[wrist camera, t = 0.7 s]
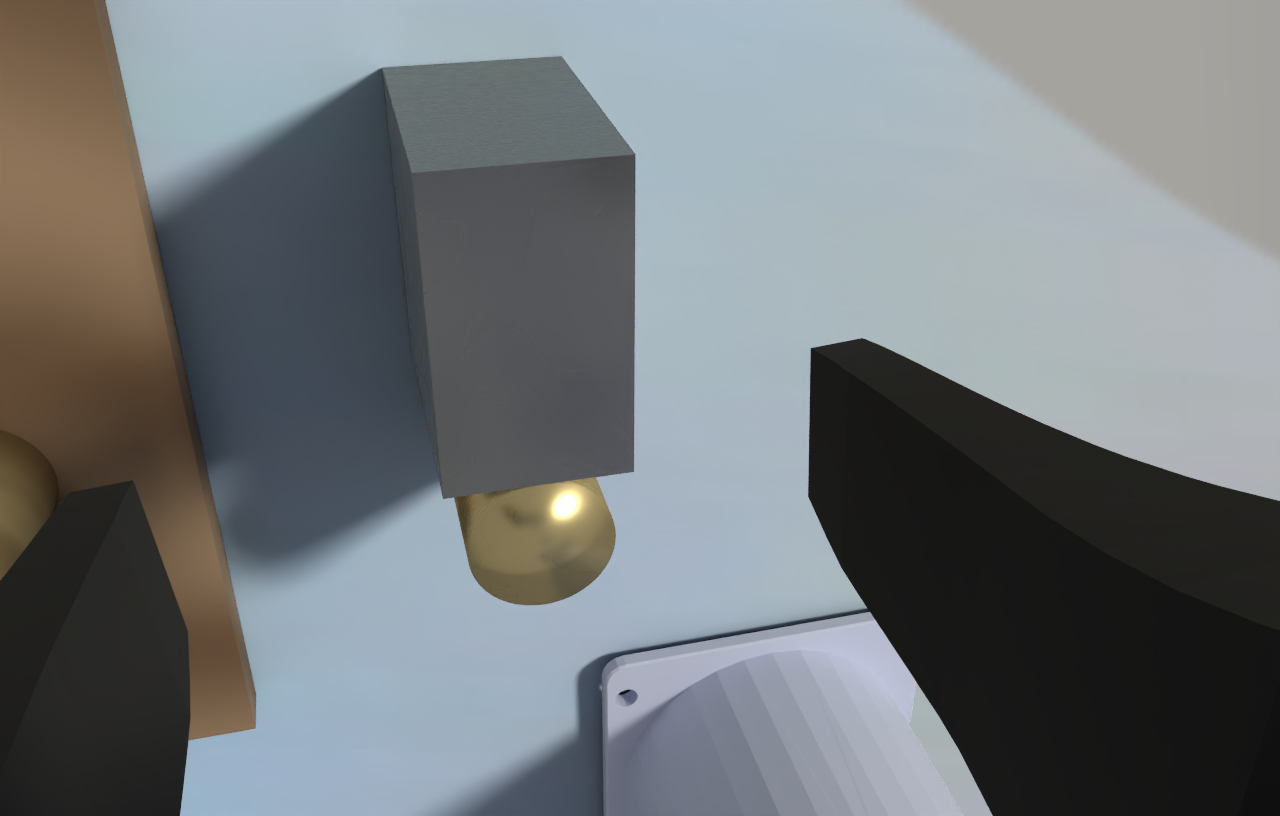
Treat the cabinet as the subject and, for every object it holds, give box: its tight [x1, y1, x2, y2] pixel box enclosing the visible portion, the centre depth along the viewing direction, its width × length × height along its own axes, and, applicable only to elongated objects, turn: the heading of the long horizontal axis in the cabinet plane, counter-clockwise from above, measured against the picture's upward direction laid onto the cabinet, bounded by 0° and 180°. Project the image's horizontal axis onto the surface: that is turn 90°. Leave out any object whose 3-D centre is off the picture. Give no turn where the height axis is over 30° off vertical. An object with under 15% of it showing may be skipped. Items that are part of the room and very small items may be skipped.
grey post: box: [382, 56, 635, 605], centre depth 20 cm, size 8×3×5 cm, turn 0°
